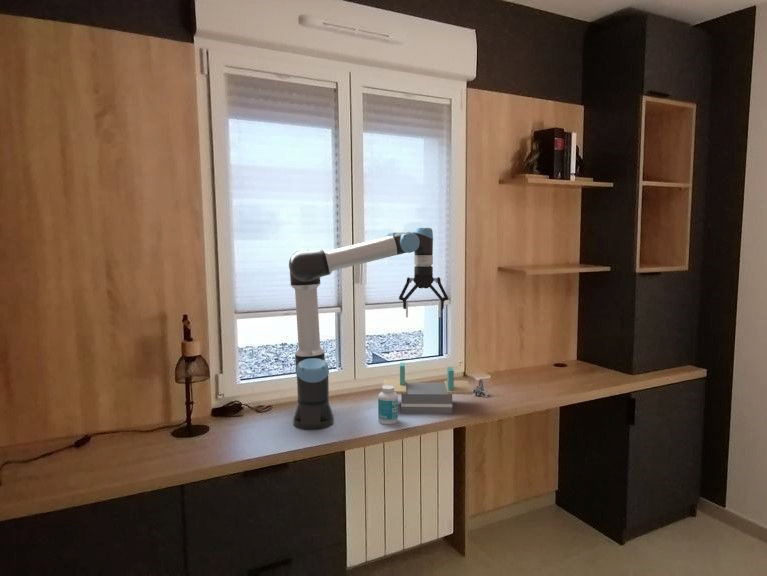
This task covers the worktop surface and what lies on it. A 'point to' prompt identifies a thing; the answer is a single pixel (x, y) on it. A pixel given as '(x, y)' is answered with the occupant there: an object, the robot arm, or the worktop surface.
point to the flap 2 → (456, 384)
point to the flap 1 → (398, 381)
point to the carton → (426, 399)
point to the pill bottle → (387, 406)
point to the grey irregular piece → (481, 390)
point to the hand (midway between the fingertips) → (423, 317)
